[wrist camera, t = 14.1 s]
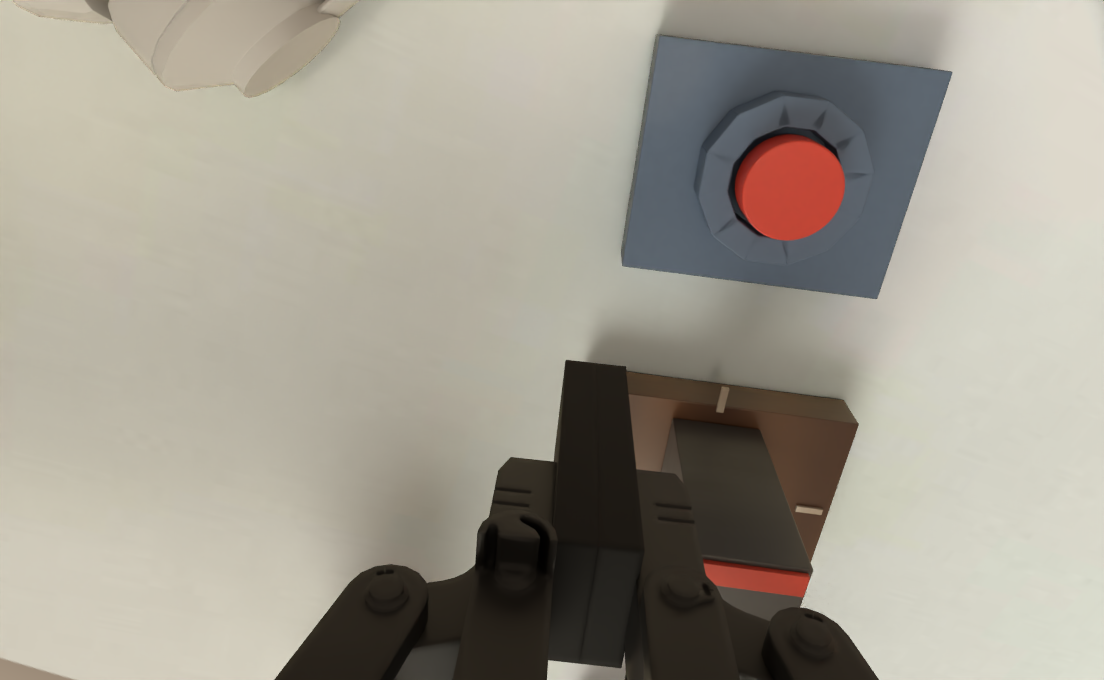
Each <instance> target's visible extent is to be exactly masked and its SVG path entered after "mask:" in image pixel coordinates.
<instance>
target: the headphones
mask: <svg viewBox="0 0 1104 680" xmlns="http://www.w3.org/2000/svg"><path fill="white" fill-rule="evenodd" d="M12 1H13V2H14V3H15V4H16V5H17V6H18V7H20V8H22V9H24V10H26V11H28V12H30V13H32V14H34V15H37V16H39V17H45V18H54V19H61V20H70V21H79V22H89V23H98V24H108V23H113V24H114V26H115V29H116V31H117V33H118V34H119V35H120V36H121V37H122V38H123V39H124V41H125V42H126V43H127V44H128V45H129V46H130V47H131V49H132V50H133V51H134V52H135V53H136V54H137V56H138V57H139V58H140V59H141V60H142V61H143V62H144V64H145V65H146V66H147V67H148V68H149V69H150V70H151V72H152V73H153V74H154V75H156V76H157V78H158V79H159V80H160V81H161V82H162V84H163V85H164V86H165V87H167V88H170V89H172V90H174V91H184V90H192V89H200V88H208V87H216V86H224V85H232V84H235V85H236V86H237V87H238V89H239V90H240V91H241V92H242V93H243V95H244V96H246V97H248V98H250V97H256V96H259V95H261V94H263V93H266V92H268V91H270V90H272V89H273V88H275V87H277V86H278V85H280V84H282V83H283V82H285V81H286V80H287V79H289V78H290V77H292V76H293V75H294V74H296V73H297V72H298V71H299V70H301V69H302V68H303V67H304V66H306V65H307V64H308V63H309V62H310V61H311V60H312V59H313V58H314V57H315V56H317V55H318V54H319V53H320V52H321V51H322V50H323V49H324V47H325V46H326V45H327V44H328V43H329V42H330V40H331V39H332V38H333V36H334V35H335V33H336V32H337V30H338V28H339V25H340V20H339V17H340V16H342V15H343V14H344V13H345V12H346V11H347V10H349V9H350V8H351V7H352V6H353V5H355V4H356V3H357V2H358V1H359V0H12Z"/></svg>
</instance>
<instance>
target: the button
mask: <svg viewBox="0 0 1104 680" xmlns="http://www.w3.org/2000/svg"><path fill="white" fill-rule="evenodd" d="M844 192H845V177H844V172H843V169H842V166H841V164H840V162H839V160H838V159H837V158H836V156H835V155H834V154H833V153H832V152H831V151H830V150H828V149H827V148H826V147H824V146H822V145H821V144H819V143H817V142H815V141H814V140H812V139H810V138H808V137H805V136H802V135H797V134H783V135H778V136H774V137H771V138H769V139H767V140H765V141H763V142H761V143H760V144H758V145H757V146H756V147H754V148H753V149H752V150H751V151H750V152H749V153H748V154H747V156H746V157H745V158H744V160H743V161H742V163H741V165H740V167H739V169H738V172H737V176H736V180H735V196H736V200H737V203H738V205H739V207H740V209H741V211H742V212H743V214H744V215H745V217H746V218H747V219H748V221H749V222H750V223H751V225H752V226H753V227H754V228H755V229H756V230H757V231H759V232H760V233H762V234H763V235H765V236H767V237H770V238H773V239H777V240H786V241H787V240H797V239H801V238H805V237H807V236H810V235H812V234H814V233H816V232H817V231H819V230H820V229H822V228H823V227H824V226H825V225H826V224H827V223H829V222H830V220H831V219H832V218H833V217H834V215H835V214H836V212H837V211H838V209H839V207H840V205H841V202H842V200H843V196H844Z"/></svg>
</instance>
